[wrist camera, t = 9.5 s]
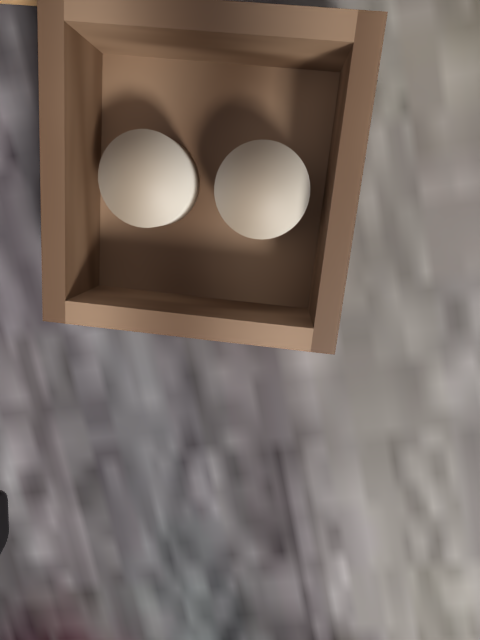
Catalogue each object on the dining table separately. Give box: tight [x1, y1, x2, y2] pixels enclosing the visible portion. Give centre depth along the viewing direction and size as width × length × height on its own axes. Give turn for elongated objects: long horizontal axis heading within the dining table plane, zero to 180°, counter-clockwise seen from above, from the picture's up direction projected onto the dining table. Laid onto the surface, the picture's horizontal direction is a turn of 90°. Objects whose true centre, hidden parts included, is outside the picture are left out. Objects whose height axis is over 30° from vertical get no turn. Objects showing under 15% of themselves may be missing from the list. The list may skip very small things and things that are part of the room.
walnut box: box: [37, 0, 388, 355], centre depth 16 cm, size 10×10×4 cm
